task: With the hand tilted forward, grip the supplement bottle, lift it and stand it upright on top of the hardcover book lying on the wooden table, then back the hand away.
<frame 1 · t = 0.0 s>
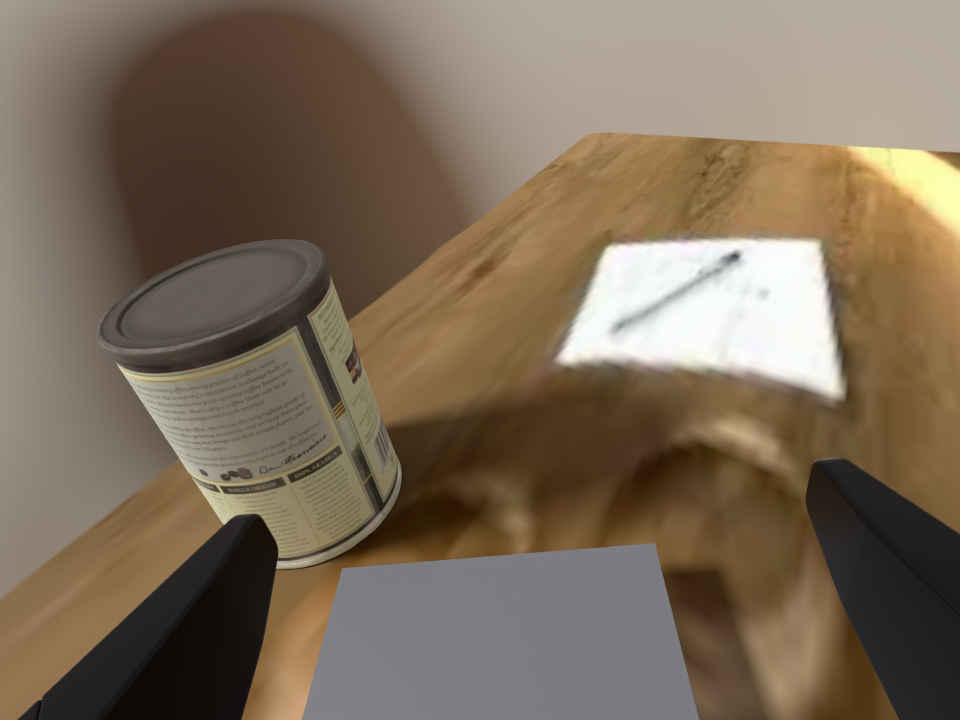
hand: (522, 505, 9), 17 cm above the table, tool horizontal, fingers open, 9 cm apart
coffee can: (319, 498, 34), on the table
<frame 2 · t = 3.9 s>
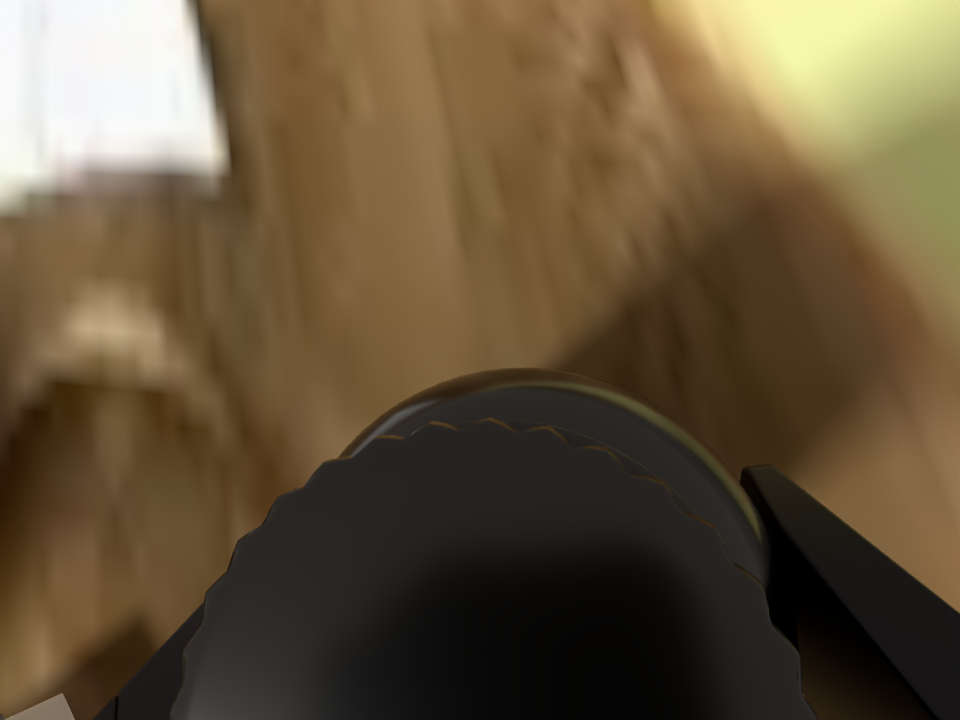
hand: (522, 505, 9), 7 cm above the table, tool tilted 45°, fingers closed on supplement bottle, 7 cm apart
supplement bottle: (548, 538, 16), on the table, touching gripper
when the fingers open (11 cm above the table, at t = 8.5 s): supplement bottle drops 2 cm, point 2 cm above the table.
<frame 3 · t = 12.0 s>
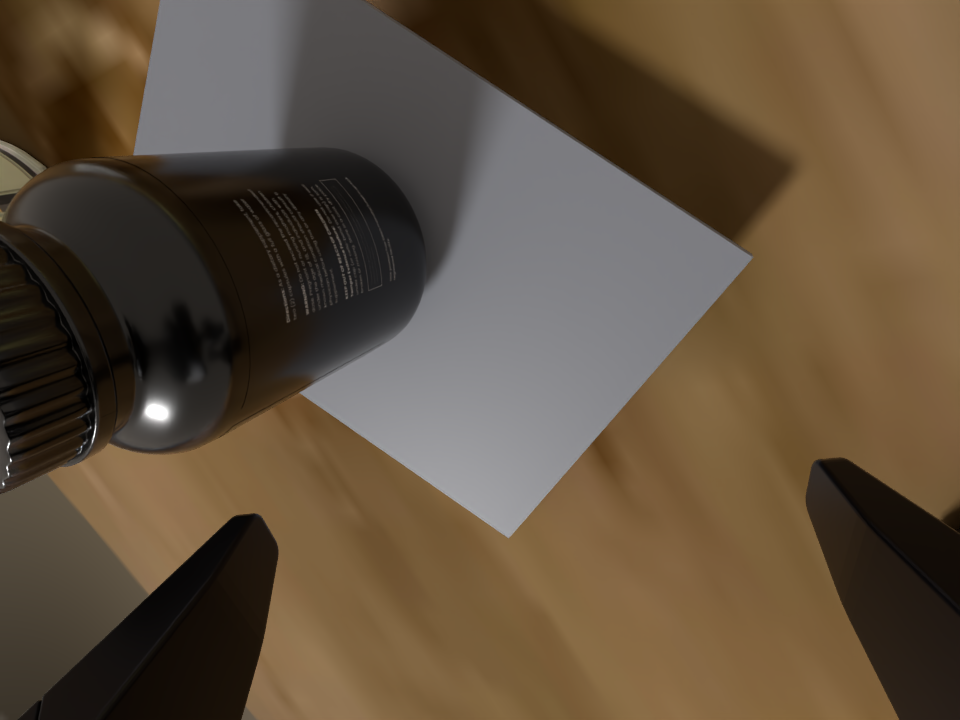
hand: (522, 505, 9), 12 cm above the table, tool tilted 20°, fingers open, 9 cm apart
coffee can: (30, 246, 29), on the table
supplement bottle: (350, 251, 20), point 2 cm above the table
book: (407, 241, 23), on the table
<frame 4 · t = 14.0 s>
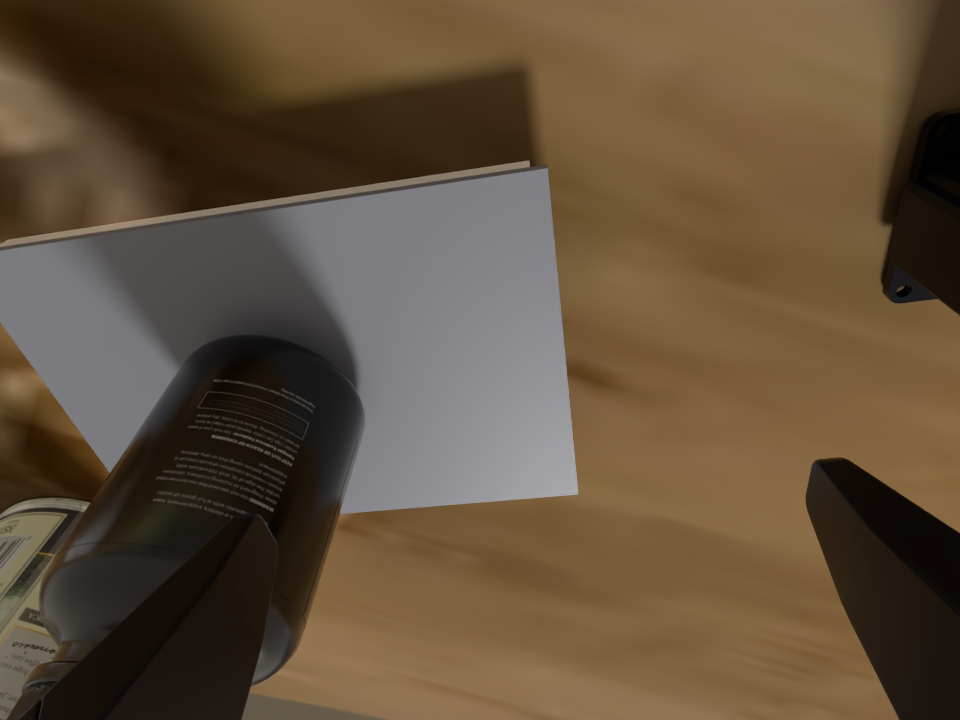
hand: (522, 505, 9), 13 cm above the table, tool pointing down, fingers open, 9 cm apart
coffee can: (97, 555, 33), on the table
supplement bottle: (282, 393, 22), point 2 cm above the table
book: (323, 347, 25), on the table
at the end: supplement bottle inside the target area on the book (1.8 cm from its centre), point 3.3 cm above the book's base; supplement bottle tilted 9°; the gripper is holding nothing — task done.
